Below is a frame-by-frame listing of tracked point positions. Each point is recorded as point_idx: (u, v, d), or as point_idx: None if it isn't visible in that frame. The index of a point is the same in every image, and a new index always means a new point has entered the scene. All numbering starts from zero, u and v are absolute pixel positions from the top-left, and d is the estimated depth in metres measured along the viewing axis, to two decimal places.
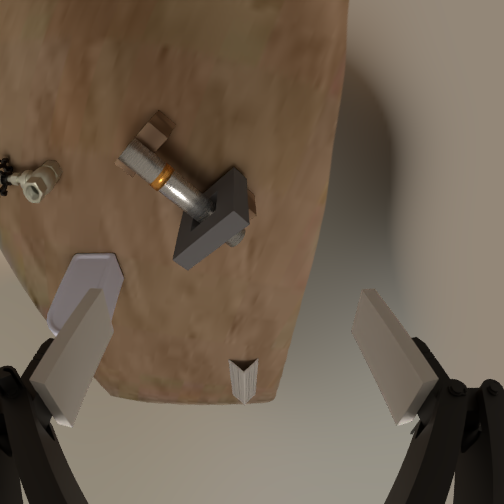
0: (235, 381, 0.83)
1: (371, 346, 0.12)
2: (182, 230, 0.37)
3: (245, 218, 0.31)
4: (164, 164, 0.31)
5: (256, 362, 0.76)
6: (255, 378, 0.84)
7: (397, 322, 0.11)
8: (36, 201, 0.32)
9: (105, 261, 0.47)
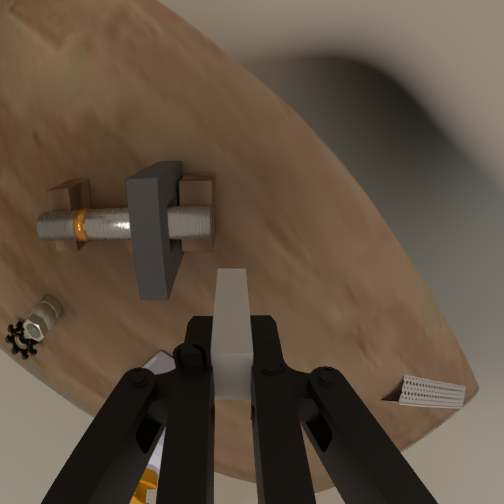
0: None
1: None
2: None
3: (151, 176, 0.20)
4: (76, 210, 0.25)
5: (408, 379, 0.48)
6: (437, 384, 0.50)
7: (245, 298, 0.13)
8: (41, 336, 0.31)
9: (155, 363, 0.39)
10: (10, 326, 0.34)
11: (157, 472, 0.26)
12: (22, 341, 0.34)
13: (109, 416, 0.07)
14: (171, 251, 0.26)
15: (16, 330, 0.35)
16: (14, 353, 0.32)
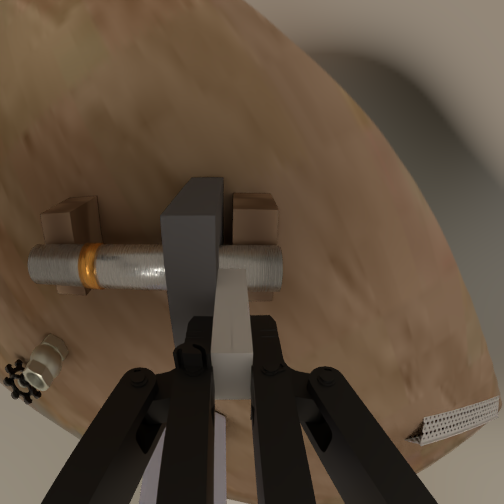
0: None
1: None
2: None
3: (203, 212, 0.13)
4: (82, 246, 0.18)
5: (429, 419, 0.41)
6: (464, 409, 0.43)
7: (245, 298, 0.13)
8: (45, 387, 0.24)
9: None
10: (8, 366, 0.27)
11: None
12: (23, 384, 0.27)
13: (109, 416, 0.07)
14: None
15: (15, 370, 0.28)
16: (15, 398, 0.25)
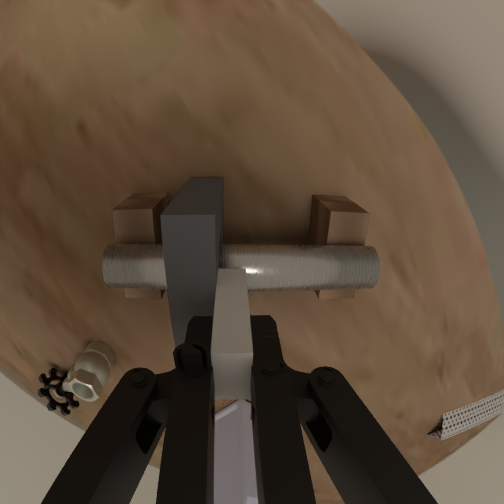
0: None
1: None
2: None
3: (203, 211, 0.13)
4: None
5: (448, 415, 0.42)
6: (481, 402, 0.43)
7: (245, 298, 0.13)
8: (95, 397, 0.24)
9: (235, 414, 0.32)
10: (42, 376, 0.28)
11: None
12: (61, 394, 0.28)
13: (109, 416, 0.07)
14: None
15: (50, 380, 0.29)
16: (52, 410, 0.26)
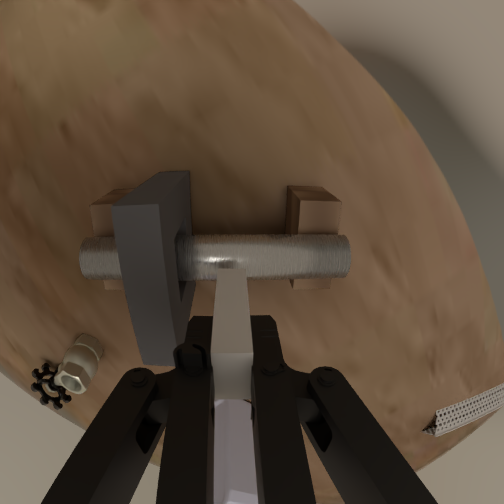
0: None
1: None
2: None
3: (150, 201, 0.13)
4: None
5: (441, 411, 0.43)
6: (476, 397, 0.44)
7: (245, 298, 0.13)
8: (82, 389, 0.25)
9: (221, 407, 0.33)
10: (35, 371, 0.28)
11: None
12: (53, 389, 0.28)
13: (109, 416, 0.07)
14: (181, 297, 0.19)
15: (43, 374, 0.29)
16: (44, 404, 0.26)
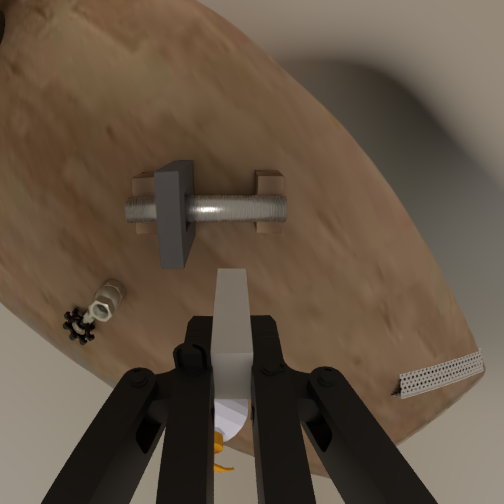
0: None
1: None
2: None
3: (173, 170, 0.27)
4: None
5: (405, 376, 0.56)
6: (442, 365, 0.57)
7: (245, 298, 0.13)
8: (109, 316, 0.38)
9: None
10: (67, 313, 0.41)
11: (223, 435, 0.33)
12: (81, 326, 0.42)
13: (109, 416, 0.07)
14: (186, 231, 0.32)
15: (73, 317, 0.42)
16: (73, 338, 0.40)
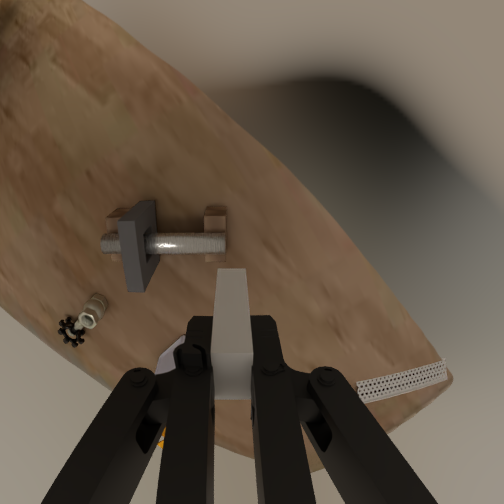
0: None
1: None
2: None
3: (131, 219, 0.34)
4: None
5: (362, 383, 0.64)
6: (401, 374, 0.65)
7: (245, 298, 0.13)
8: (94, 324, 0.46)
9: (179, 344, 0.54)
10: (61, 321, 0.49)
11: None
12: (73, 332, 0.49)
13: (109, 416, 0.07)
14: (147, 262, 0.40)
15: (66, 324, 0.50)
16: (66, 342, 0.47)
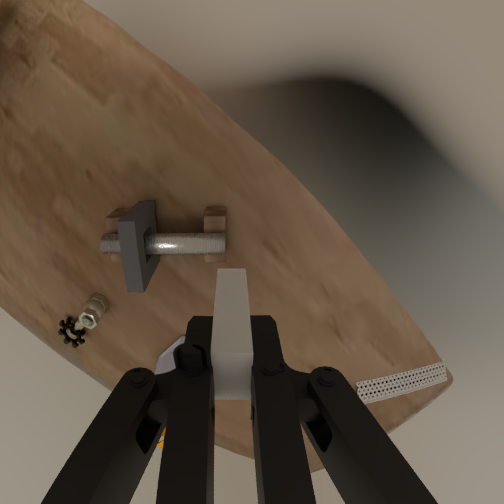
0: None
1: None
2: None
3: (131, 219, 0.34)
4: None
5: (362, 384, 0.64)
6: (401, 375, 0.65)
7: (245, 298, 0.13)
8: (94, 324, 0.46)
9: (178, 344, 0.54)
10: (62, 321, 0.49)
11: None
12: (73, 332, 0.49)
13: (109, 416, 0.07)
14: (147, 262, 0.40)
15: (67, 324, 0.50)
16: (66, 342, 0.47)
